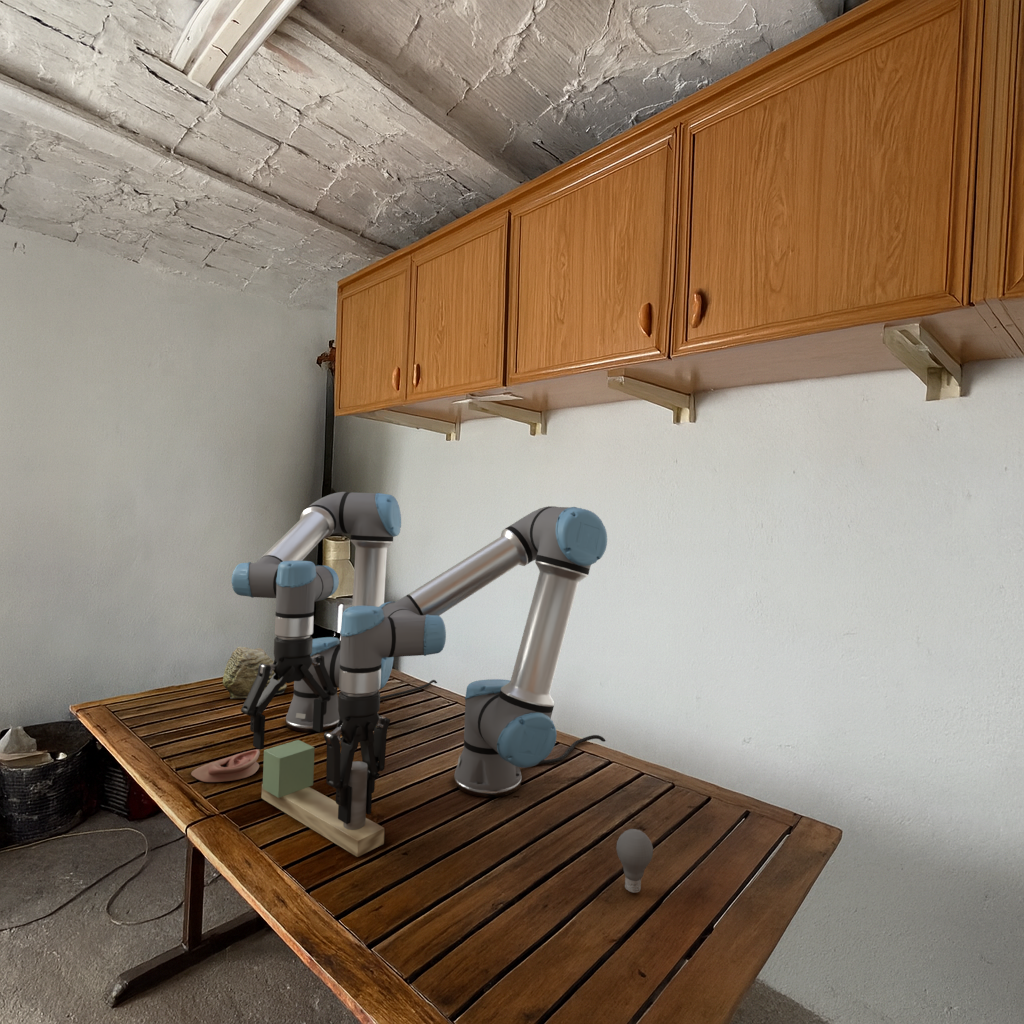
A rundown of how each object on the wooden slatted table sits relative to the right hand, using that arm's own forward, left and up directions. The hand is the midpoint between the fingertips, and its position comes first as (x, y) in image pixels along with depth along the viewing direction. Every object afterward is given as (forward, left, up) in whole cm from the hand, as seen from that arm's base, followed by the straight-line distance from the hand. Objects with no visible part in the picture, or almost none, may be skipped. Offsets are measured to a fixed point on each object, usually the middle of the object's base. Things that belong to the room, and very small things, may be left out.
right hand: (354, 815), depth 117 cm
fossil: (+2, -95, -5) cm, 96 cm away
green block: (+8, -21, -2) cm, 22 cm away
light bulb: (-36, +36, -5) cm, 51 cm away
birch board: (+4, -10, -5) cm, 12 cm away
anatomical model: (+17, -40, -5) cm, 44 cm away
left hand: (+8, -20, +8) cm, 23 cm away
